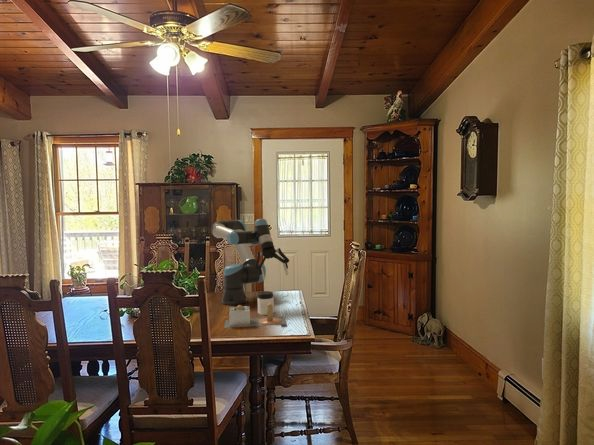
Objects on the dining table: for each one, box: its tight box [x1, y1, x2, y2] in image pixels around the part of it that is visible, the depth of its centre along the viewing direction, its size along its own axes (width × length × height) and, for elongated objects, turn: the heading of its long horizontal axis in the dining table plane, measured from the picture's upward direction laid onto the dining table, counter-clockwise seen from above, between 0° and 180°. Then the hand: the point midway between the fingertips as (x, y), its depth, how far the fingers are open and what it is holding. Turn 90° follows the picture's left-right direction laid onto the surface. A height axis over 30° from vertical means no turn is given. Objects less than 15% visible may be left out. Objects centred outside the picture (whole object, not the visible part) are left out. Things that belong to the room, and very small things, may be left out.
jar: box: [256, 290, 275, 316], centre depth 231 cm, size 9×8×12 cm
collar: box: [228, 305, 251, 326], centre depth 212 cm, size 10×10×7 cm
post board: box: [223, 304, 287, 329], centre depth 213 cm, size 30×14×10 cm, turn 96°
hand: (275, 276), depth 241 cm, fingers open, 13 cm apart
